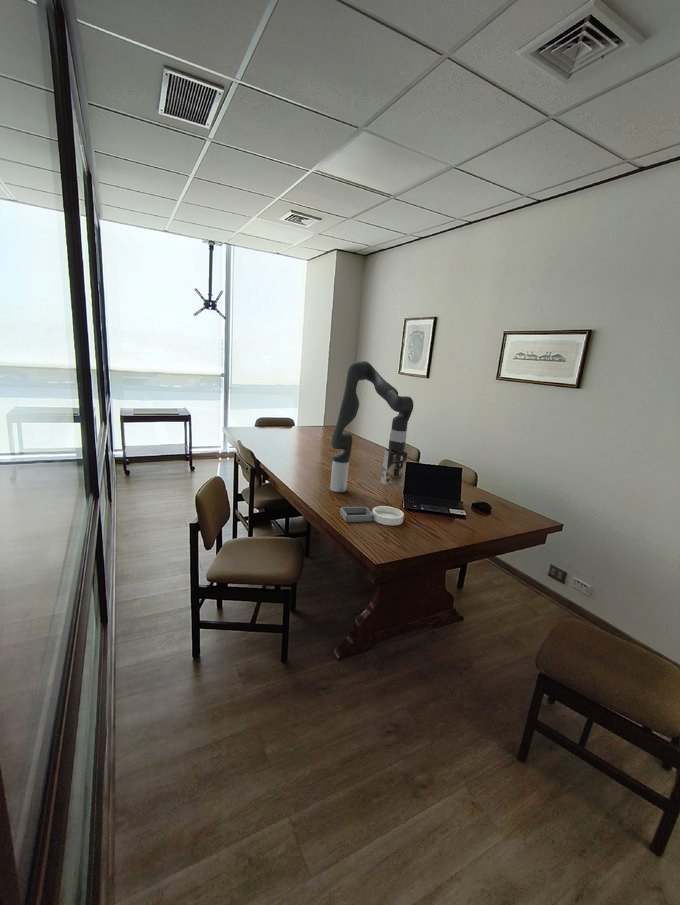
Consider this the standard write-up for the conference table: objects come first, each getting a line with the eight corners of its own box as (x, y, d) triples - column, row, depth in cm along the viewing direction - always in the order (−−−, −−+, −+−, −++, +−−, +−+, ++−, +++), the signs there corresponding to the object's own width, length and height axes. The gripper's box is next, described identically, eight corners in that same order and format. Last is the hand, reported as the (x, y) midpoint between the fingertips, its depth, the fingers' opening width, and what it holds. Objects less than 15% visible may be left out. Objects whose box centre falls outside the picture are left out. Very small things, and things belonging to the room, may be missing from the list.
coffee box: (384, 485, 186) (388, 452, 182) (380, 481, 192) (384, 448, 188) (403, 486, 188) (407, 453, 185) (398, 481, 194) (402, 449, 191)
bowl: (367, 512, 199) (368, 506, 199) (395, 512, 204) (396, 505, 203) (378, 525, 186) (379, 518, 185) (407, 524, 190) (408, 518, 189)
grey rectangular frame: (339, 512, 196) (340, 507, 195) (365, 512, 200) (366, 506, 199) (345, 522, 186) (346, 516, 186) (373, 521, 190) (373, 515, 189)
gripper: (384, 435, 191) (380, 469, 195) (396, 443, 177) (391, 478, 181) (398, 436, 193) (394, 469, 197) (411, 443, 180) (406, 478, 184)
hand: (393, 473), depth 189 cm, fingers closed on coffee box, 6 cm apart
